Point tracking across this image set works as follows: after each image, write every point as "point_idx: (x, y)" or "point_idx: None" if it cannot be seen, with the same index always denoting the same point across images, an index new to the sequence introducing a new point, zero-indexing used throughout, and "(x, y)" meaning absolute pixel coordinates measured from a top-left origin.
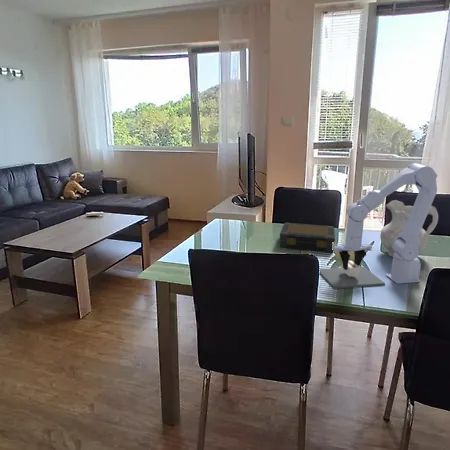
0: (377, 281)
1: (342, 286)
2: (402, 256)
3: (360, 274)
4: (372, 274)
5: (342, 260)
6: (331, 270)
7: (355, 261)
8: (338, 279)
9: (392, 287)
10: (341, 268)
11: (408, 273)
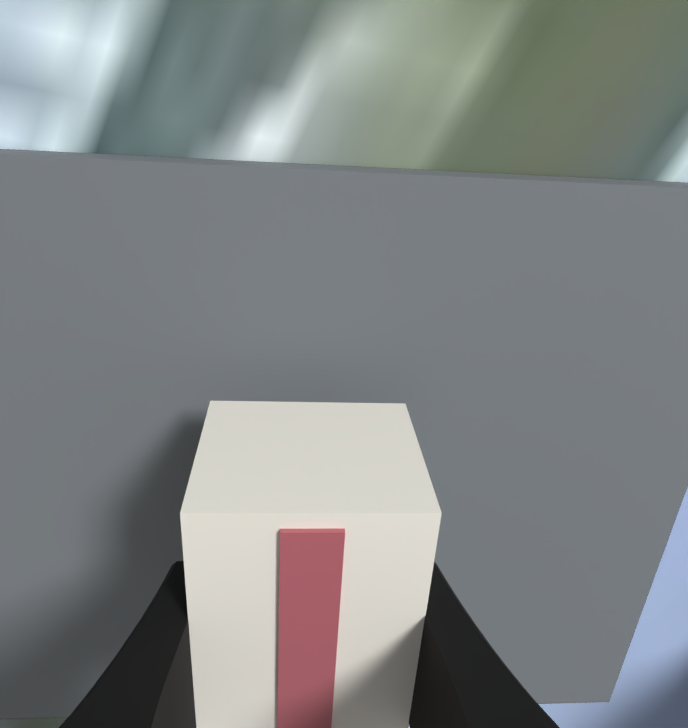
0: (558, 666)
1: (68, 712)
2: None
3: (493, 482)
4: (659, 506)
5: (101, 701)
6: (71, 264)
7: (431, 692)
8: (79, 574)
9: (629, 720)
10: (209, 420)
11: None
